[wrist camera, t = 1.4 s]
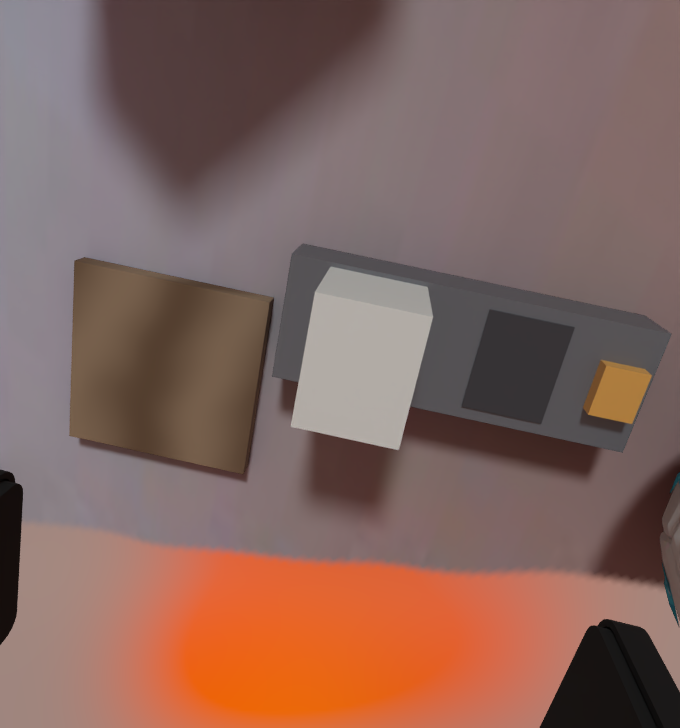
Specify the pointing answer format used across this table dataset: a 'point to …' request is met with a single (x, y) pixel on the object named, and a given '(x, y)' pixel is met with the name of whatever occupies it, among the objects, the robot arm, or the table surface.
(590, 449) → the table surface
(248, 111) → the table surface
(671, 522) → the puzzle ball
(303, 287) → the power strip
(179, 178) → the table surface
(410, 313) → the block
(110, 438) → the pad
